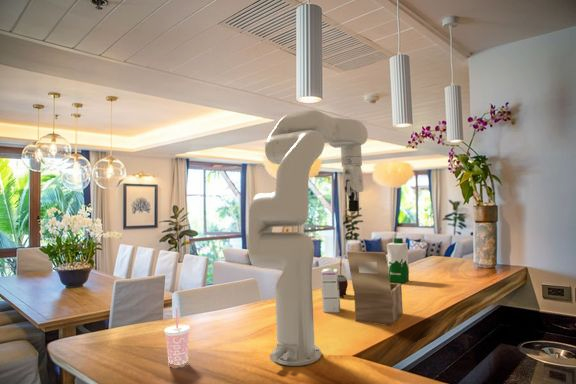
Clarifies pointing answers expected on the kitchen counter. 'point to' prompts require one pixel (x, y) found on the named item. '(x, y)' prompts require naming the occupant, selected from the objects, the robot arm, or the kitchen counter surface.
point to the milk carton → (398, 261)
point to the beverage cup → (177, 342)
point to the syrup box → (330, 290)
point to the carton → (379, 306)
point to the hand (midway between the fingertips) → (353, 211)
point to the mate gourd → (342, 282)
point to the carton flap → (369, 272)
